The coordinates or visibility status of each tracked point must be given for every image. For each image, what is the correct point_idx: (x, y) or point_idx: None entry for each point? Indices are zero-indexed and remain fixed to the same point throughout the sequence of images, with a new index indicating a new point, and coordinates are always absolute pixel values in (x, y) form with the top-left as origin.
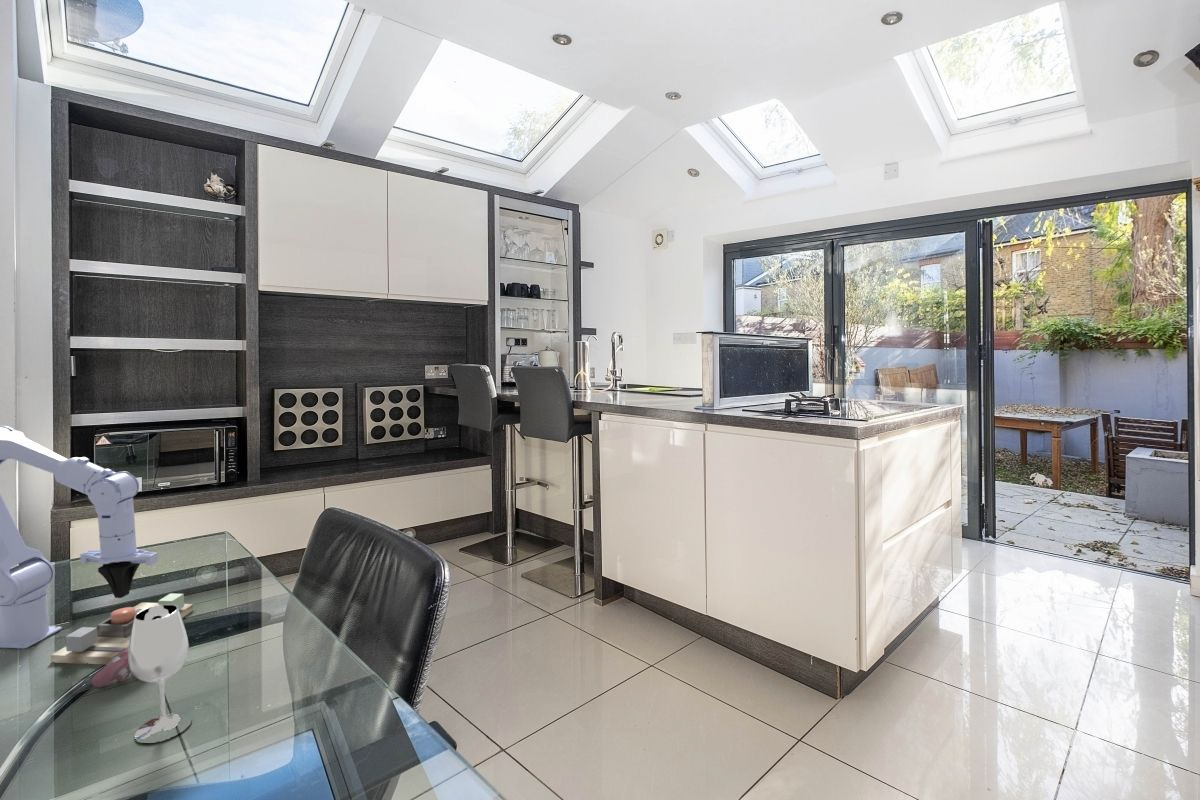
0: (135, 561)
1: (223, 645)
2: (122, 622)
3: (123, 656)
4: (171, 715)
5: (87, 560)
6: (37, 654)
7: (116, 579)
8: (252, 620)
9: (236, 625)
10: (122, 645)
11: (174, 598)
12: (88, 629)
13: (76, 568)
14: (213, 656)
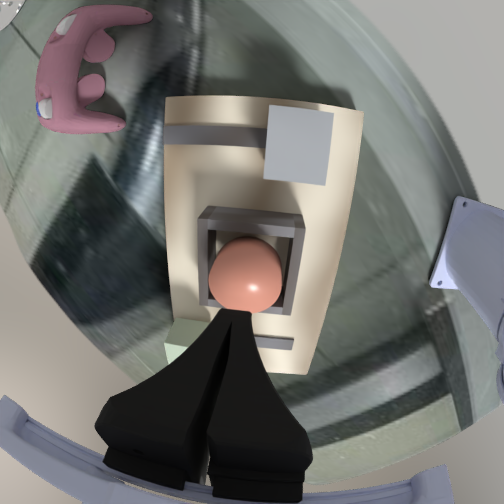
0: (81, 456)
1: (30, 203)
2: (228, 243)
3: (61, 38)
4: (6, 17)
5: (415, 485)
6: (419, 164)
7: (191, 374)
8: (54, 293)
9: (60, 278)
10: (186, 161)
11: (170, 355)
12: (285, 164)
13: (454, 426)
14: (22, 164)
